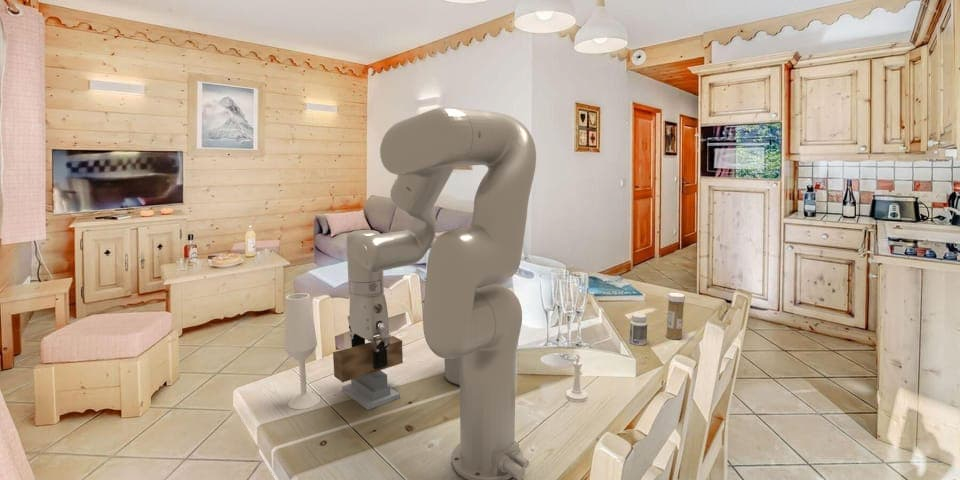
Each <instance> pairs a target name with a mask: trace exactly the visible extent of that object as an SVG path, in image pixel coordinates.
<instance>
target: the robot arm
mask: <svg viewBox="0 0 960 480" xmlns="http://www.w3.org/2000/svg"><path fill="white" fill-rule="evenodd" d="M379 154H380V159H381V163H382V165H383V167H384V168H385V170H387V171H388V172H389V173H391V174H393V175H397V176H396V178H395V180H394V183H392V184H393V185H392V186H391V189H390V195H389V196H390V199H391V201H392V203H393V205H394V206H395V207H396V208H397V209H399V210H400V211H402V212H403V213H404V214H407V215H408V216H410V217H412V218H411V221H410V222H409V225H408V226H407V228H406V229H404V230H400V231H392V232H385V233H381V232H379V231H377V230H374V229H360V230H359V229H357V230H353V231H350V232H349V233H348V234H347V235H346V239H345V240H346V260H347V282H348V283H347V284H348V295H349V314H348V315H347V321H348V330H349V331H350V334H349V336H350V342H351V347H354V346H358V345H362V344H365V343H366V340H367V341H368V342H371V343H372V345H373V348H374V350H375V351H373V368H374V369H379V368H382V367H385V366H387V349H388V346H389V343H390V342H389V341H390V338H391V336H392V335H391V332H390V326H389V325H390V322H389V314H388V312H389V311H388V304H387V299H386V296H385V294H384V293H385V288H384V287H385V285H384V284H385V282H384V279H385V278H384V271H388V270H392V269H396V268H401V267H408V266H413V265H415V264H417V263H419V262H420V261H421V260H422V259H423V258H424V256H425V255H426V254H427V252H428V250H429V249H430V250H429V253H428V256H427V264H426V274H425V275H426V276H425V286H424V299H423V300H424V301H423V311H422V313H423V314H422V328H423V329H422V330H423V335H424V339H425V342H426V344H427V346H428V348H429V349H430V350H431V352H432V353H433V354H434V355H436V356H437V357H439V358H441V359H444V360H445V359H454V358H458V357H461V356H462V359H461V365H460V385H459V417H460V418H459V423H460V424H459V425H460V427H459V428H460V429H459V430H460V431H459V432H460V434H459V436H460V439H459V441H460V442H459V443H458V444H457V445H456V446H455V448H453V451H452V454H451V465H452V468H453V470H454V471H455V472H456V473H457V474H458V475H459V476H461V478H464V479H465V480H509V479H512V478H515V480H522V479H523V478H524V477H525V474H526V469H527V468H528V466H529V465H530V461H529V460H528V459H526V458H524V453H523V451H522V449H521V447H520V443H519V442H517V441H516V440H515V439H516V437H515V436H516V435H515V434H516V433H515V432H516V431H515V429H516V378H517V377H516V374H517V371H516V370H517V366H516V365H517V352H518V344H519V339H520V334H521V330H522V324H523V311H522V310H523V309H522V306H521V302H520V300H519V298H518V296H517V295H516V294H515V293H514V292H513V290H511V289H510V288H508V287H506V286H504V285H503V286H502V285H498V284H497V283H500V282H504V281H506V280H509V279H510V278H512V277H513V276H514V275H516V273H517V272H518V271H519V268H520V264H521V262H522V261H521V260H522V255H523V248H524V247H523V246H524V241H525V240H524V239H525V232H526V227H527V219H528V218H527V217H528V206H529V201H530V200H529V199H530V195H531V189H532V186H533V180H534V177H535V173H536V166H537V149H536V145H535V141H534V138H533V136H532V135H531V133H530V131H529V129H528V128H527V127H526V126H525V124H523V123H522V122H521V121H520V120H518V119H517V118H515V117H513V116H510V115H507V114H506V113H501V112H495V111H489V110H482V109H481V110H480V109H469V108H461V107H445V106H444V107H437V108H434V109H431V110H428V111H427V110H426V111H424V112H422V113H419V114H417V115H415V116H412V117H409V118H407V119H404V120H401V121H398V122H396V123H395V124H393V125H392V126H391V127H390V128H389V129H388V130H387V131H386V132H385V133H384V135H383V137H382V141H381V143H380V148H379ZM456 166H485V167H486V168H487V171H486V172H485V174H484V176H483V178H482V179H481V181H480V183H479V185H478V187H477V190H476V192H475V196H474V201H473V213H472V218H471V222H470V224H469V225H468V226H466V227H465V226H464V227H457V228H453V229H449V230H446V231H445V232H443V233H441V234H439V236H438V237H437V238H436V232H437V219H436V214H435V211H434V209H433V208H434V206H435V204H436V202H437V201H438V199H439V197H440V194H442V191H443V189H444V188H445V186H446V184H447V182H448V181H449V178H450V177H451V175H452V173H453V171H454V169H455V167H456ZM435 238H436V239H435ZM432 243H433V244H432ZM494 283H496V285H491V284H494ZM378 340H381V342H380V343H379V344H378V345H377V342H376V341H378Z"/></svg>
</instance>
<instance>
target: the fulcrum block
mask: <svg viewBox="0 0 960 480" xmlns="http://www.w3.org/2000/svg"><path fill="white" fill-rule="evenodd" d="M341 388H342V389H341V391H342V392H343V393H345V394H346V395H348V397H350V398H352V399H353V400H354V401H355V402H357V404H359V405H360V406H362V407H363V408H365V409H366V411H369V410H372V409H374V408H377V407H380V406H383V405H385V404H388V403H390V402H394V401H396V400H398V399H401V393H399V392H398V391H396V390H394V388H393V387H391V385H389V384H388V374H387V373H385V372H383V371H382V370H380V371H377V372H373V373H370V374H367V375H364V376H361V377H358V378H355V379H352V380H350V383H348V384H346V385H342V386H341Z"/></svg>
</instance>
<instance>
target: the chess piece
mask: <svg viewBox="0 0 960 480" xmlns="http://www.w3.org/2000/svg"><path fill="white" fill-rule="evenodd" d="M580 359H581V356H580V353H579V354H578V353H577V354H576V356H575V360H574V361H573V362H572V364H573V369H574V370H573V371H572V375H574V380H573V386H572V388H570V389H567V390H566V391H565V398H566V399H567V400H569V401H571V402H576V403H580V402H585V401H587V400H588V397H589V396H588V393H587V391H585V390H584V389H582V388H581V380H580V379H581V378H580V376H582V375H583V372H582V371H581V368H582V366H583V362H582V361H580Z"/></svg>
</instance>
